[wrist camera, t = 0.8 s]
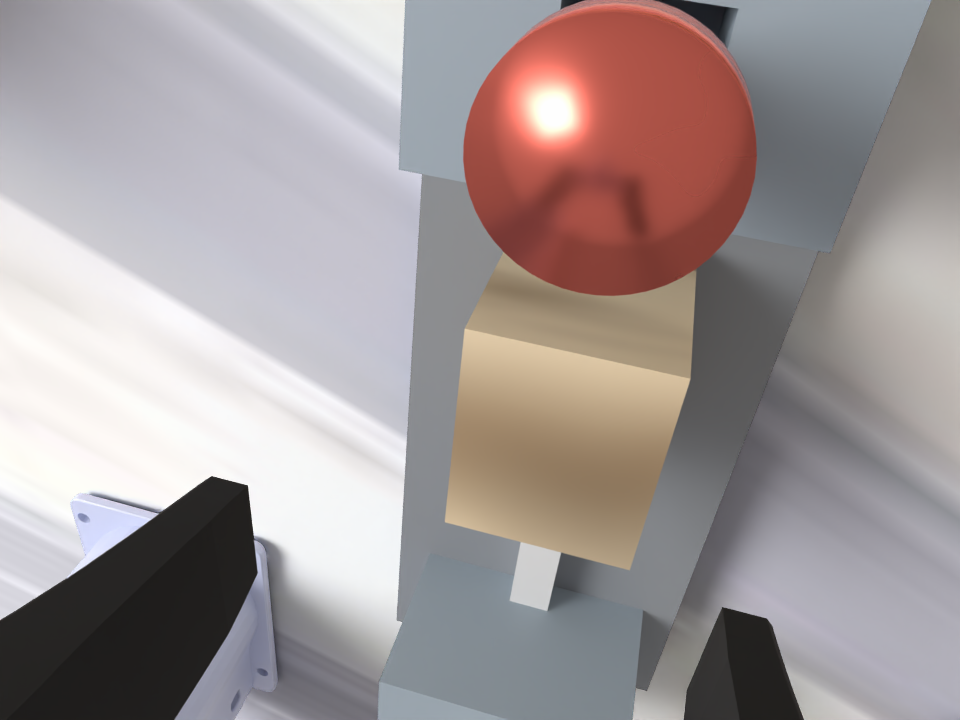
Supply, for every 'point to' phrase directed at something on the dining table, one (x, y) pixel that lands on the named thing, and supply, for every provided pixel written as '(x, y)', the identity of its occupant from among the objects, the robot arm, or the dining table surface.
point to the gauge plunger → (612, 147)
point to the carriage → (567, 412)
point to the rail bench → (714, 367)
